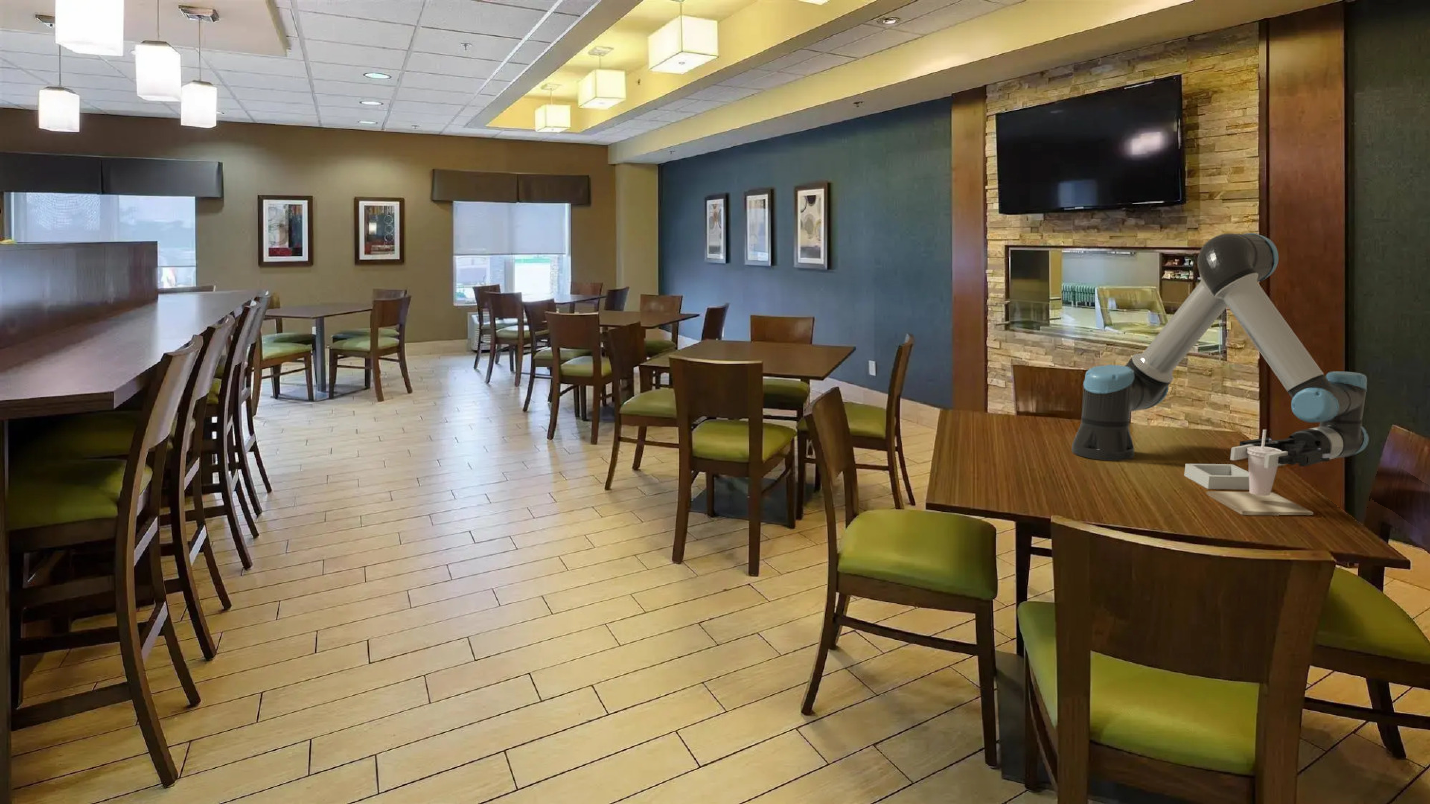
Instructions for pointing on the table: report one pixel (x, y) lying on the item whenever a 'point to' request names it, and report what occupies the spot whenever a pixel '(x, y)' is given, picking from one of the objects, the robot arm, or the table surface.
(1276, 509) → the board
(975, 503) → the table surface
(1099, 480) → the table surface
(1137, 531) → the table surface
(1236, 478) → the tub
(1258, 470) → the smoothie
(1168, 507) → the table surface
